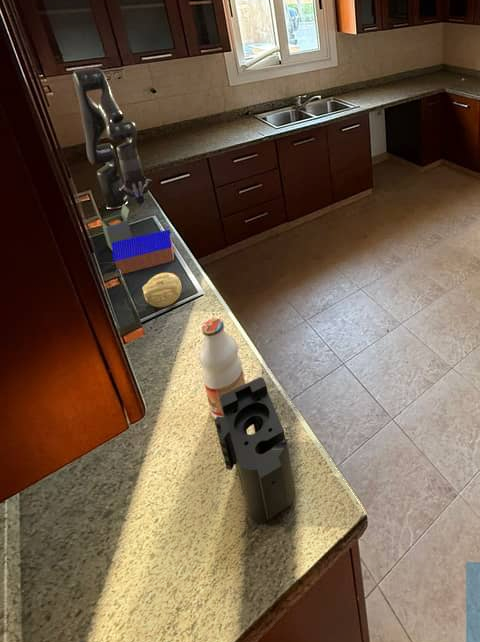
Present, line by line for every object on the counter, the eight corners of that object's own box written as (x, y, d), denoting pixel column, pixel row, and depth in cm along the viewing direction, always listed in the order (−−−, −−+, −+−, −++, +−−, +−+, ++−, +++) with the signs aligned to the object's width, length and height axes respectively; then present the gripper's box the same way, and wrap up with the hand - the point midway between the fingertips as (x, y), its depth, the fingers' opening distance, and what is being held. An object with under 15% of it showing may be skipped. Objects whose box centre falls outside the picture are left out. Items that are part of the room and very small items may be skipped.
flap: (123, 204, 186) (124, 204, 186) (120, 212, 186) (121, 212, 187) (129, 210, 181) (130, 210, 181) (126, 218, 181) (127, 218, 182)
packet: (124, 241, 188) (118, 219, 184) (127, 243, 187) (121, 221, 183) (114, 245, 185) (108, 223, 181) (118, 247, 184) (111, 225, 180)
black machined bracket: (272, 435, 108) (261, 370, 99) (303, 514, 91) (293, 445, 83) (223, 462, 101) (207, 396, 93) (247, 552, 85) (230, 481, 77)
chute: (108, 245, 186) (100, 220, 181) (128, 238, 191) (121, 213, 187) (113, 253, 181) (106, 227, 176) (134, 245, 186) (127, 220, 182)
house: (175, 260, 175) (169, 236, 171) (118, 275, 167) (110, 250, 162) (174, 246, 185) (168, 222, 181) (120, 259, 177) (113, 235, 172)
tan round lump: (146, 316, 146) (139, 291, 142) (149, 294, 156) (142, 270, 152) (183, 306, 151) (177, 281, 147) (184, 285, 161) (178, 262, 157)
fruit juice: (241, 422, 111) (224, 340, 100) (205, 422, 111) (184, 340, 100) (253, 390, 119) (238, 311, 109) (219, 390, 120) (201, 311, 109)
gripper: (145, 160, 188) (153, 195, 194) (110, 169, 179) (121, 206, 185) (151, 164, 183) (160, 200, 190) (116, 174, 174) (126, 211, 181)
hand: (140, 203), depth 188 cm, fingers closed
